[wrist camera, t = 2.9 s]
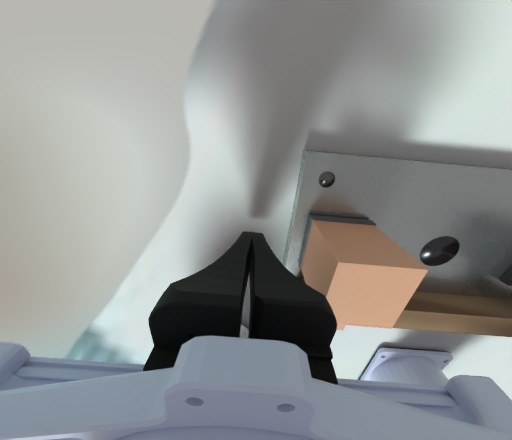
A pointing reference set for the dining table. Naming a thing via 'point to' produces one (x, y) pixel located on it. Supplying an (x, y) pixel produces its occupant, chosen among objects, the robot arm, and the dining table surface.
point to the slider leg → (358, 270)
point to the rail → (457, 314)
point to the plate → (416, 215)
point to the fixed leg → (507, 277)
